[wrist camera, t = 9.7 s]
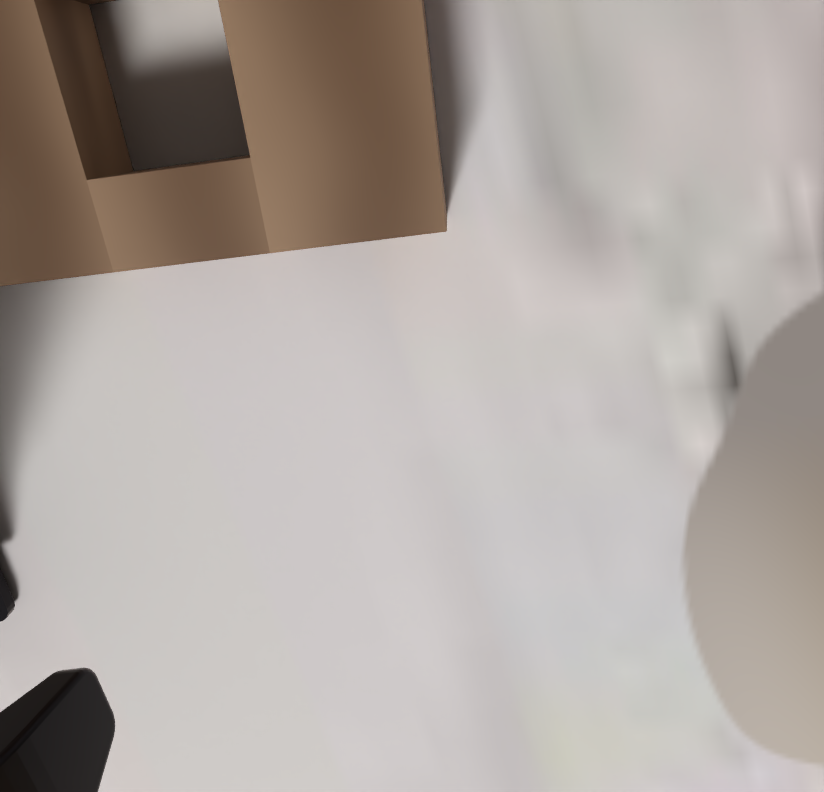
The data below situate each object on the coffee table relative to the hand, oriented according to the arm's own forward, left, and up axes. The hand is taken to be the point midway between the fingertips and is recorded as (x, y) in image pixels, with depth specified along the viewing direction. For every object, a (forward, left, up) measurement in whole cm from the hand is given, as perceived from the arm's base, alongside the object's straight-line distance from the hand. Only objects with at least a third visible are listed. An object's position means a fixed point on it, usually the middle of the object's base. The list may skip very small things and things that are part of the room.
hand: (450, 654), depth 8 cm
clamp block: (-6, +8, -12) cm, 15 cm away
